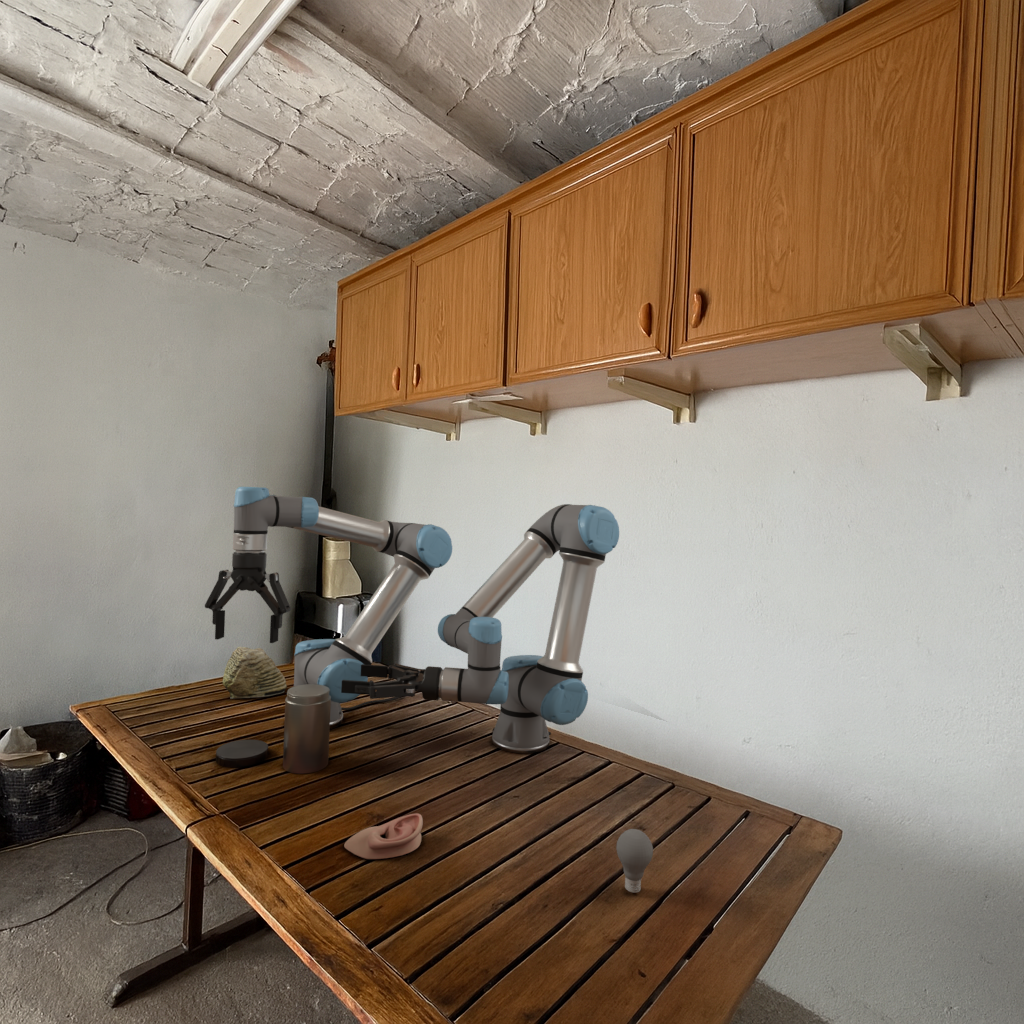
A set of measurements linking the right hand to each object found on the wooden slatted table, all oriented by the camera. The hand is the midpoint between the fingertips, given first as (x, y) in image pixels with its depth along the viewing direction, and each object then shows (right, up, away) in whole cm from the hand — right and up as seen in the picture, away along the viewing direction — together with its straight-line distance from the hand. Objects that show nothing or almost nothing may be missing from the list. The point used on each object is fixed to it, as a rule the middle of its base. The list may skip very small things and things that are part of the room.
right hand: (351, 677), depth 148 cm
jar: (-11, -21, +1) cm, 24 cm away
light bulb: (+58, -25, -43) cm, 76 cm away
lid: (-27, -18, +3) cm, 33 cm away
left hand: (-26, +8, +3) cm, 27 cm away
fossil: (-43, -18, +50) cm, 68 cm away
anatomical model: (+14, -22, -31) cm, 41 cm away
